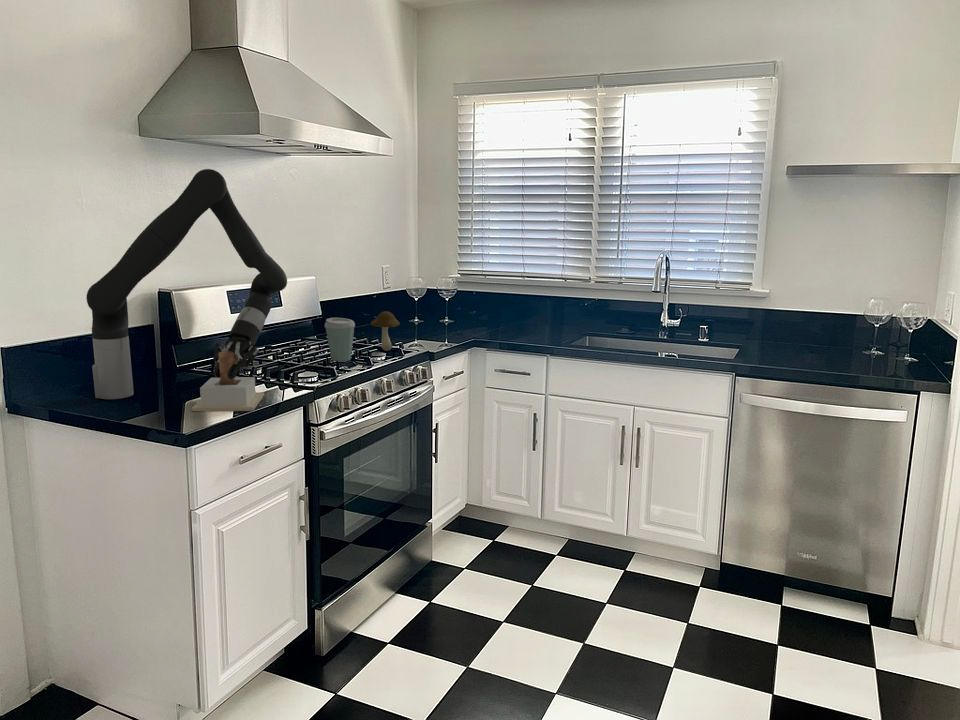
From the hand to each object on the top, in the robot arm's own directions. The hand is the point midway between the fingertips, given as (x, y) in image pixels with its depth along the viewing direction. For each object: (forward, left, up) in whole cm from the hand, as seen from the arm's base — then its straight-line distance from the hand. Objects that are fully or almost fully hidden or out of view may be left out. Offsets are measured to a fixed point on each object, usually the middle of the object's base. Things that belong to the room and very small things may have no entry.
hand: (223, 376), depth 206 cm
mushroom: (+42, +74, -8) cm, 85 cm away
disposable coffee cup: (+27, +56, -8) cm, 62 cm away
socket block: (+1, +2, -8) cm, 8 cm away
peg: (+1, +2, -5) cm, 5 cm away
